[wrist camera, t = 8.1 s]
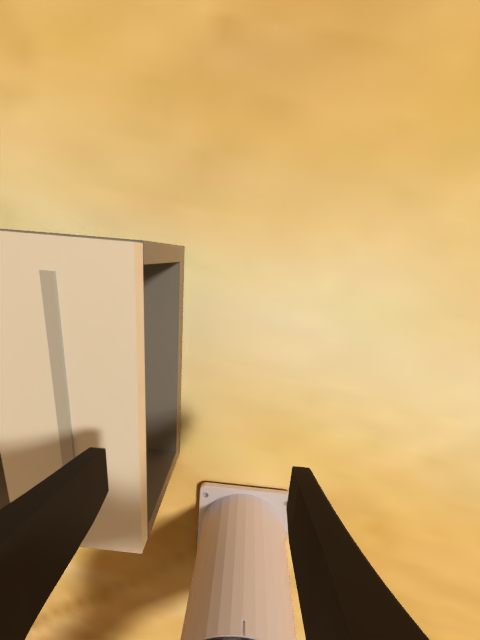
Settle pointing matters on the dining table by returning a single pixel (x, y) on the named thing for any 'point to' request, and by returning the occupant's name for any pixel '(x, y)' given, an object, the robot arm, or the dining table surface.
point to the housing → (154, 365)
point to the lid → (75, 371)
